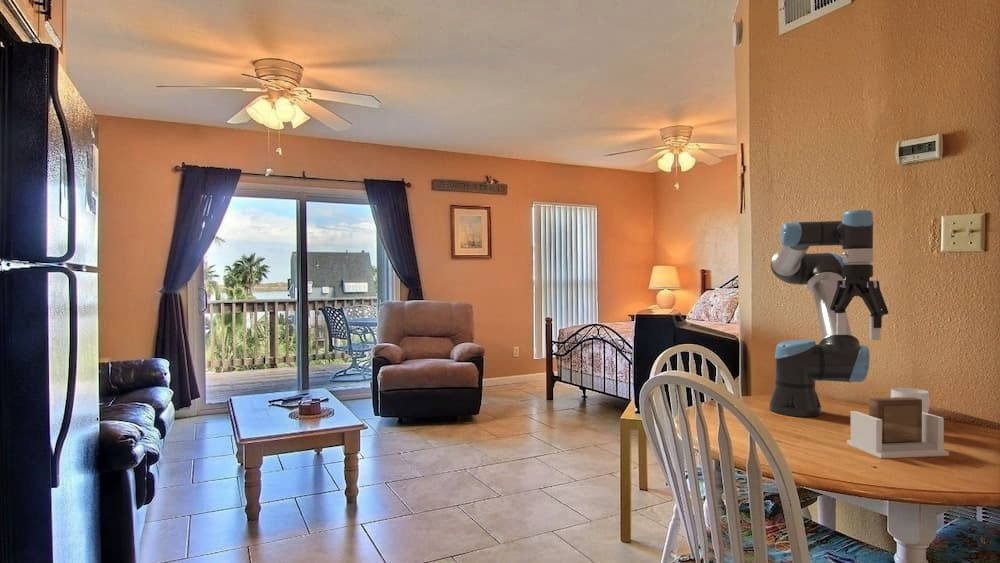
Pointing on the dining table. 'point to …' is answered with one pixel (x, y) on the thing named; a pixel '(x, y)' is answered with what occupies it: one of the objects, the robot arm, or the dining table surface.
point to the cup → (913, 395)
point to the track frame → (870, 440)
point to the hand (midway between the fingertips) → (857, 337)
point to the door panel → (898, 418)
